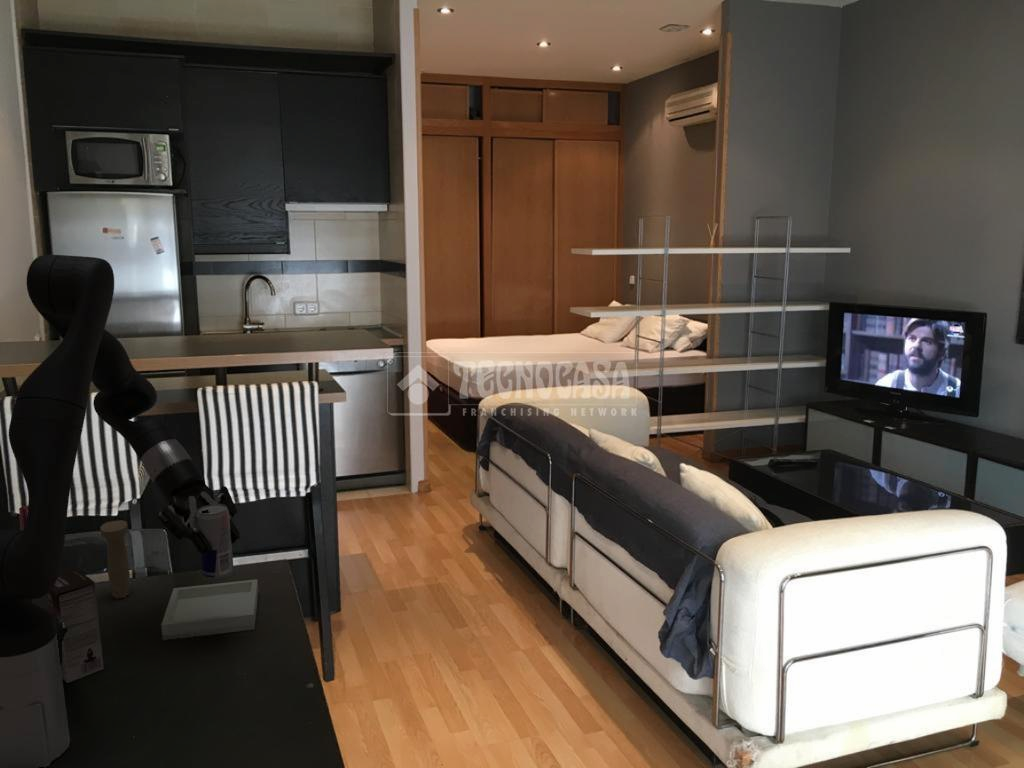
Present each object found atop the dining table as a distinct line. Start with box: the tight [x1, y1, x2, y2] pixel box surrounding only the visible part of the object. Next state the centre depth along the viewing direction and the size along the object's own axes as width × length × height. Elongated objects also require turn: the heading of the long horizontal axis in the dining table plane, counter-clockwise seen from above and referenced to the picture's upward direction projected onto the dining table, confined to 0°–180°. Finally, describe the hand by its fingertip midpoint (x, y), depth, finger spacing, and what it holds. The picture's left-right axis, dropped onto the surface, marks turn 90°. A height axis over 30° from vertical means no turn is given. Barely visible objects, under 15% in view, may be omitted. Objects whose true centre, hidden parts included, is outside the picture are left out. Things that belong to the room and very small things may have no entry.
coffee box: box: [47, 566, 105, 684], centre depth 142 cm, size 9×6×16 cm
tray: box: [160, 578, 259, 641], centre depth 161 cm, size 16×16×3 cm
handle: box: [99, 519, 131, 600], centre depth 169 cm, size 5×6×15 cm
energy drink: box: [197, 504, 234, 580], centre depth 148 cm, size 5×5×12 cm
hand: (222, 546), depth 147 cm, fingers closed on energy drink, 5 cm apart
